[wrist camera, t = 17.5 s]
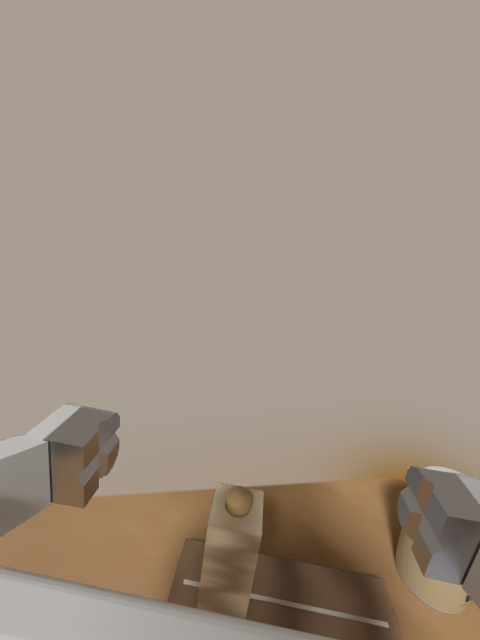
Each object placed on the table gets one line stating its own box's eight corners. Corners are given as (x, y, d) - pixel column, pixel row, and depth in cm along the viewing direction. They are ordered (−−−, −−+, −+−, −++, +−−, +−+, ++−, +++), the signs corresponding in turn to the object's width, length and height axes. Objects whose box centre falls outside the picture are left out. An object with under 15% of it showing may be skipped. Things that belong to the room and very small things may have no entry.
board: (130, 743, 22) (132, 714, 21) (184, 551, 35) (187, 528, 35) (446, 823, 21) (463, 795, 20) (378, 591, 34) (386, 568, 33)
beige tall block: (192, 643, 26) (209, 513, 22) (204, 581, 31) (220, 465, 27) (238, 653, 26) (264, 524, 22) (243, 590, 30) (265, 474, 27)
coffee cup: (479, 648, 30) (526, 558, 27) (380, 580, 35) (409, 497, 32) (476, 572, 38) (513, 493, 34) (394, 524, 43) (419, 452, 39)
